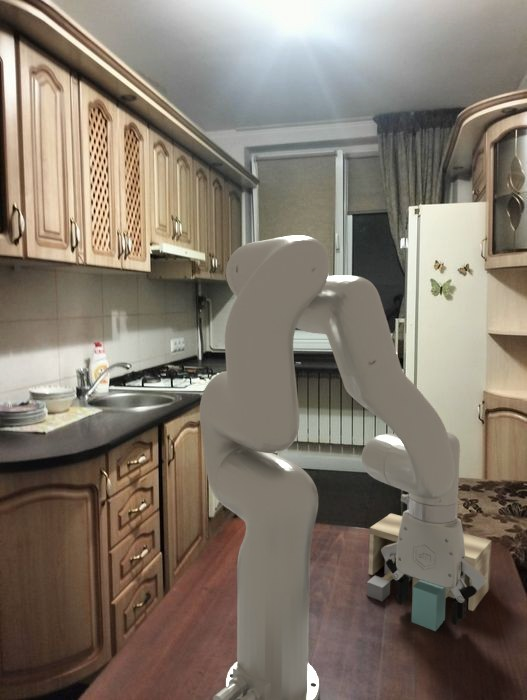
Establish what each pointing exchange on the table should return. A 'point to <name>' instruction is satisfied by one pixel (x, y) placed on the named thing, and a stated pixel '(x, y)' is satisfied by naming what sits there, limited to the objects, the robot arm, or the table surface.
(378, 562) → the birch shelf
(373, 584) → the grey block
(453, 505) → the robot arm
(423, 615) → the teal and white dumbbell
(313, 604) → the table surface
